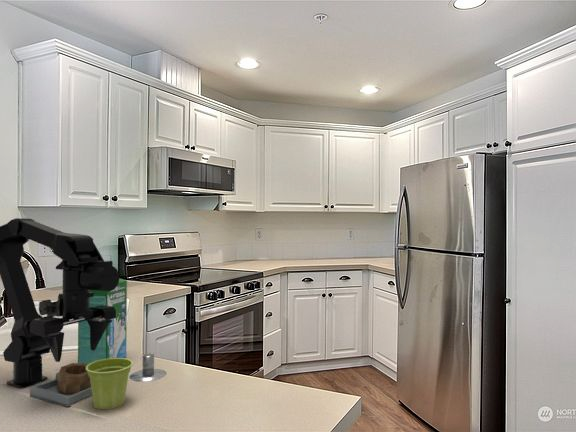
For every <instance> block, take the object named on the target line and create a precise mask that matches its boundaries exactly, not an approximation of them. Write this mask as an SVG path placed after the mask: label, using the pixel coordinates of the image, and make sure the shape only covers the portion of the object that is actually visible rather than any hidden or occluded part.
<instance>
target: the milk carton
mask: <svg viewBox="0 0 576 432" xmlns="http://www.w3.org/2000/svg"><path fill="white" fill-rule="evenodd" d="M127 287H128V281H127V280H126V279H123V278H119V283H118V285H117V287H116V288H115V289H114V290H112V291H98V290H90V292H93V293H94V294H93V297H90V307H95V306H99V305H105V306H113V307H114V308H115V310H116V318H113V319H110V320H112V322H111V323H109V325H108V326H107V328H106V330H105V332H104V333H103V335H102V337H101V339H100V341H99V343H98V345H97V347H96V349H95V350H94V351H92V350H91V347H90V326H89V324H88V322H87V320H86V321H82V322H78V323H77V324H78V325H77V331H78V332H77V334H78V335H77V363H86V364H90V363H92V362H95V361H98V360H102V359H109V358H126V359H127V330H128V329H127V328H128V327H127V325H128V324H127V322H128V321H127V318H128V317H127V316H128V315H127V309H128V307H127V305H128V301H127V299H128V295H127V294H128V293H127V292H128V288H127ZM80 318H83V317H80Z"/></svg>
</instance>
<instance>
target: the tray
mask: <svg viewBox="0 0 576 432" xmlns="http://www.w3.org/2000/svg"><path fill="white" fill-rule="evenodd" d="M55 379H56V377H55V378H53V379H49V380H46V381H45V382H44V381H43V382H40V383H38V384H36V385H34V386H33V385H32V386H29V387H30V388H29V396H30V397H31V398H34V399H38V400H41V401H44V402H48V403H51V404H54V405H58V406H61V407H65V408H70V407H72V405H74V404H77V403H79V402H81V401H83V400H86V399H88V398H90V397H92V389H91V387H90V388H88V389H85V390H83V391H80V392H78V393H76V394H65V393H63V392H61V391H59V390H57V384H58V381H57V380H55Z"/></svg>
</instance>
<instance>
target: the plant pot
mask: <svg viewBox="0 0 576 432" xmlns="http://www.w3.org/2000/svg"><path fill="white" fill-rule="evenodd" d="M133 365H134V361H133V360H132V359H129V358H127V357H126V358H109V359H102V360H98V361H95V362H92V363H90V364H88V365H87V366H86V371H87V372H88V376H89V377H90V382H91V389H92V396H91V397H92V405H93V408H95V409H97V410H111V409H114V408H117V407H120V406H122V405H123V404H124V403H125V400H126V399H125V398H126V392H127V386H128V380H129V374H130V372H131V368H132V366H133Z"/></svg>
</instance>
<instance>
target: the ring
mask: <svg viewBox="0 0 576 432" xmlns="http://www.w3.org/2000/svg"><path fill="white" fill-rule="evenodd" d="M87 365H88V364H86V363H78V362H73V363H69V364H65V365H64V366H61V367H60V369H59V371H58V372H56V373H55V378H56V379H55V378H54V379H55V380H57V381H58V384H57V390H59V391H61V392H63V393H65V394H76V393H78V392H80V391H83V390H85V389H88V388H90V387H91V382H90V377H89V376H88V372H87V371H86V366H87Z"/></svg>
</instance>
